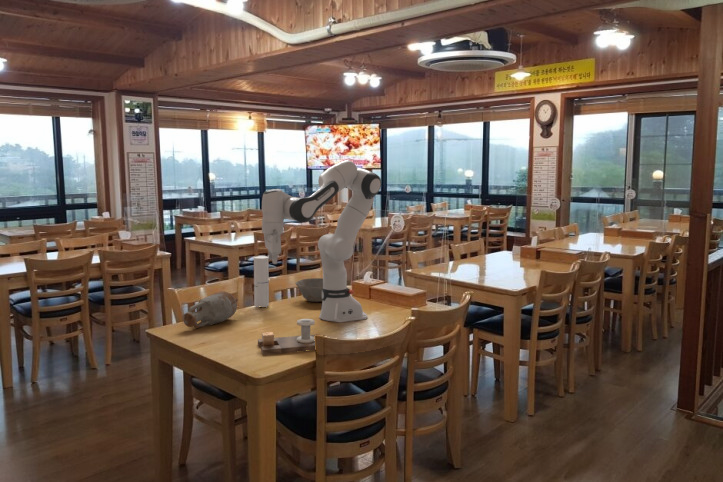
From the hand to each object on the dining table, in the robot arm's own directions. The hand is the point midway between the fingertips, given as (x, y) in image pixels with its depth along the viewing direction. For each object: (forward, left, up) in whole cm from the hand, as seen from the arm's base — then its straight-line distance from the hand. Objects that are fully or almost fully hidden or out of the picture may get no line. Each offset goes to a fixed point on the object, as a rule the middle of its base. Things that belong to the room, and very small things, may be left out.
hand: (272, 261), depth 239 cm
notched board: (-4, +18, -31) cm, 36 cm away
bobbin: (-10, +18, -29) cm, 36 cm away
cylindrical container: (-2, -50, -31) cm, 59 cm away
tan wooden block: (+5, +18, -31) cm, 36 cm away
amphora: (+23, -25, -31) cm, 46 cm away
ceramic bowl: (-32, -55, -31) cm, 71 cm away
